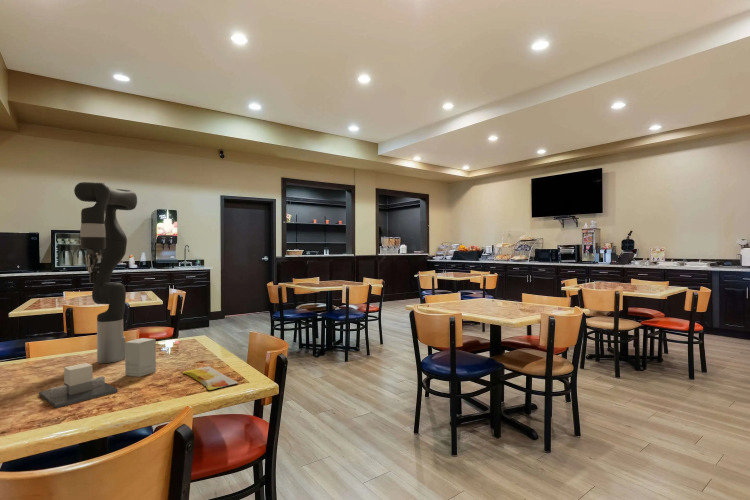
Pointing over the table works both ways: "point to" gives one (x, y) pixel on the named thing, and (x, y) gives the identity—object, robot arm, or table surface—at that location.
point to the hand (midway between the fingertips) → (93, 282)
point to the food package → (210, 377)
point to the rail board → (62, 398)
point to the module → (78, 378)
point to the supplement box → (140, 357)
